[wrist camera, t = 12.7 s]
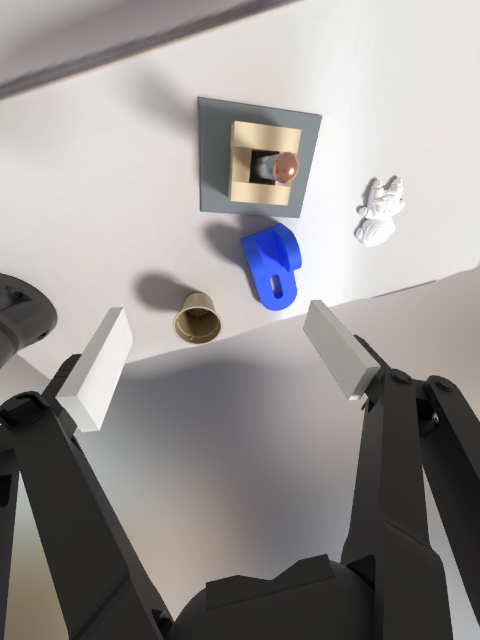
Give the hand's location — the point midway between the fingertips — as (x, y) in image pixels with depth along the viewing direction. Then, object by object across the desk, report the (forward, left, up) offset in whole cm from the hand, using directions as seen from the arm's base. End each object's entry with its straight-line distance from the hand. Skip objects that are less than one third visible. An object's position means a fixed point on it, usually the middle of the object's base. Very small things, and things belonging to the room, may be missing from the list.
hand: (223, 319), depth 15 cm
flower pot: (-3, -17, -30) cm, 34 cm away
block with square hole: (+7, +9, -29) cm, 31 cm away
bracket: (+13, -9, -30) cm, 33 cm away
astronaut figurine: (+32, +4, -30) cm, 44 cm away
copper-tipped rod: (+7, +9, -29) cm, 31 cm away
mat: (+7, +9, -29) cm, 32 cm away
